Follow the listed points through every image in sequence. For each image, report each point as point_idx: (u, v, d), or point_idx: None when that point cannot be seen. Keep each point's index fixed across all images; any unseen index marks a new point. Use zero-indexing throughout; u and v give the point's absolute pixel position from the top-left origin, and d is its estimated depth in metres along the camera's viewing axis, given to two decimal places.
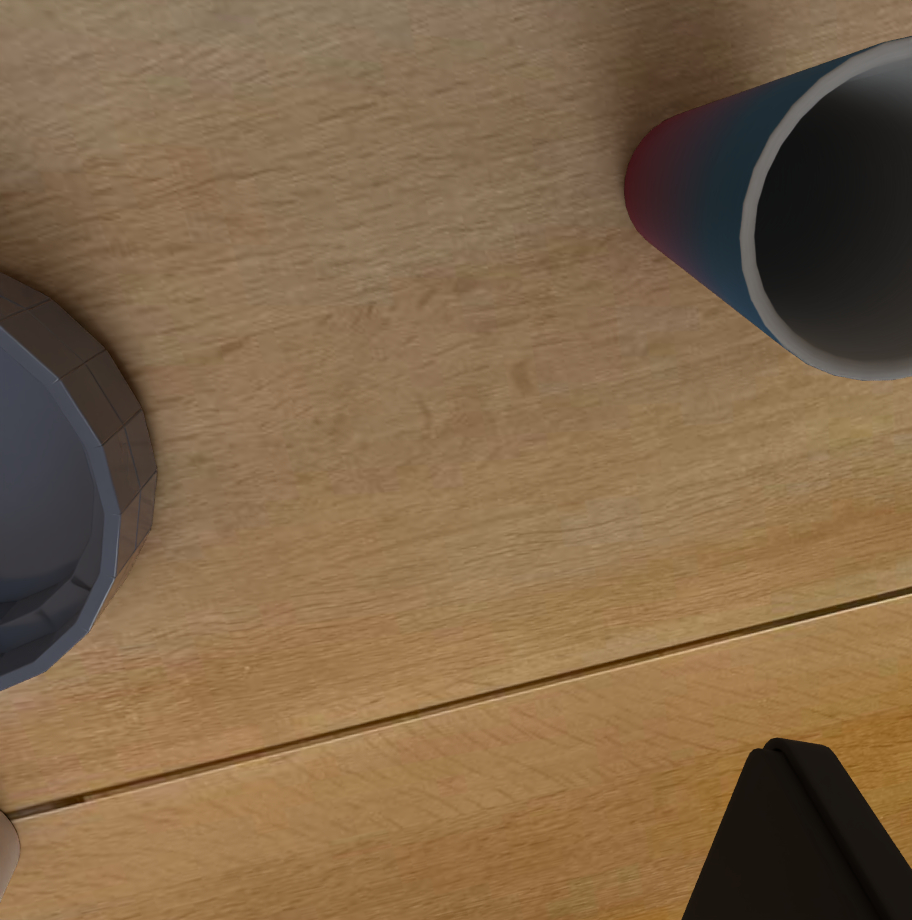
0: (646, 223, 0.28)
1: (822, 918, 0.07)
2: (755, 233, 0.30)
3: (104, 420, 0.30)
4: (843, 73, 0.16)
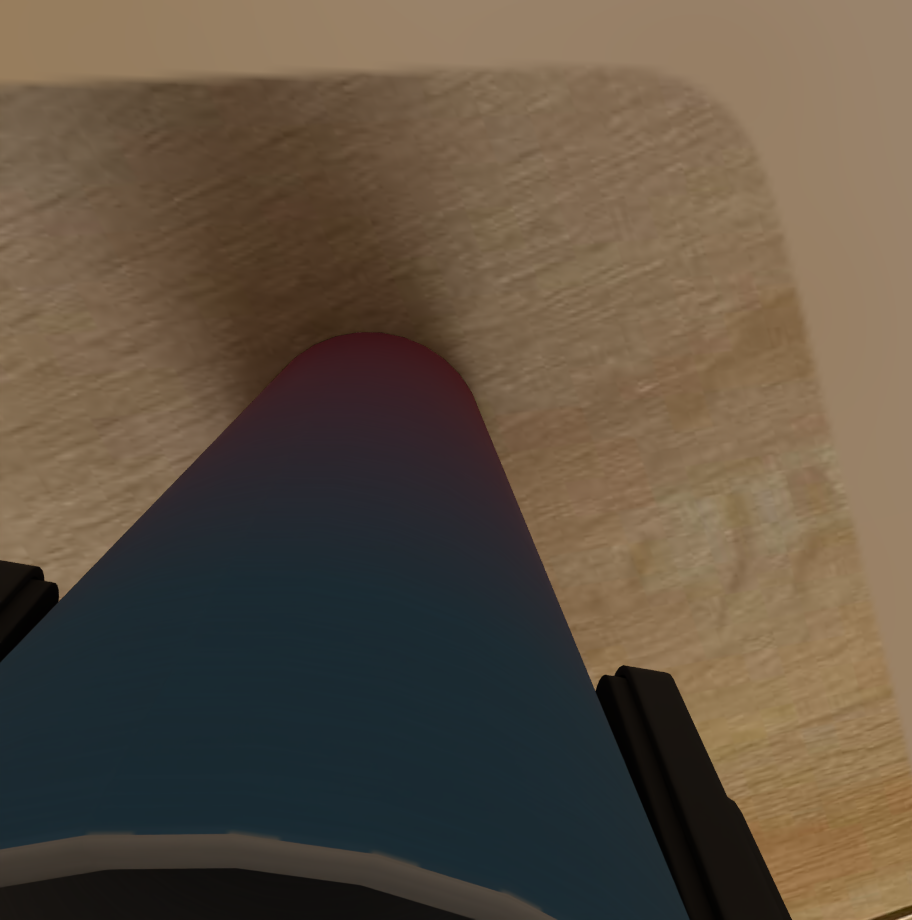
0: None
1: None
2: None
3: None
4: None
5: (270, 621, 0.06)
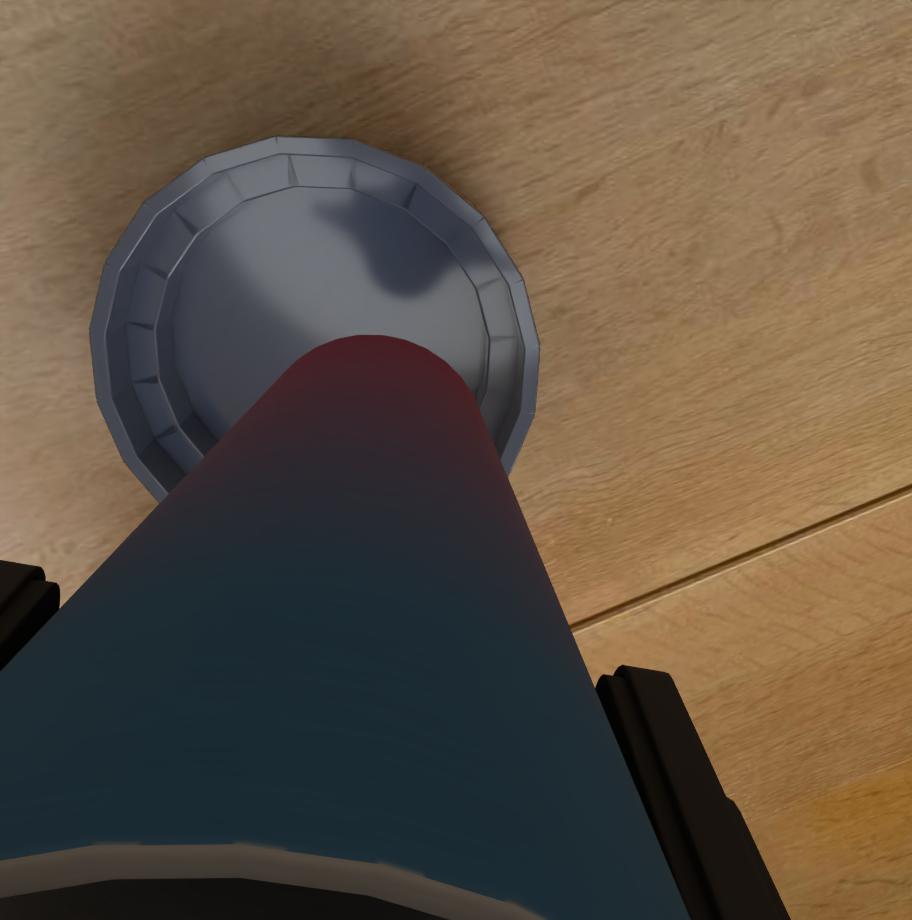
0: None
1: None
2: None
3: None
4: None
5: (274, 628, 0.06)
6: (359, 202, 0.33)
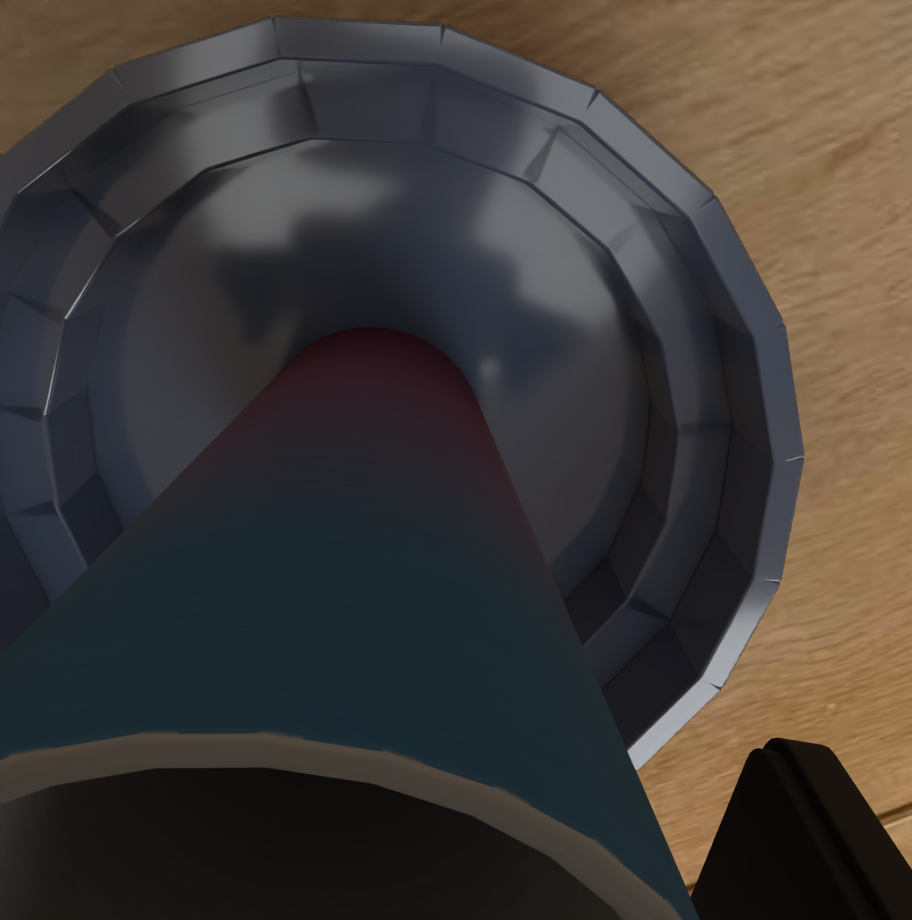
0: None
1: (822, 918, 0.07)
2: None
3: None
4: None
5: (288, 573, 0.06)
6: (431, 174, 0.18)
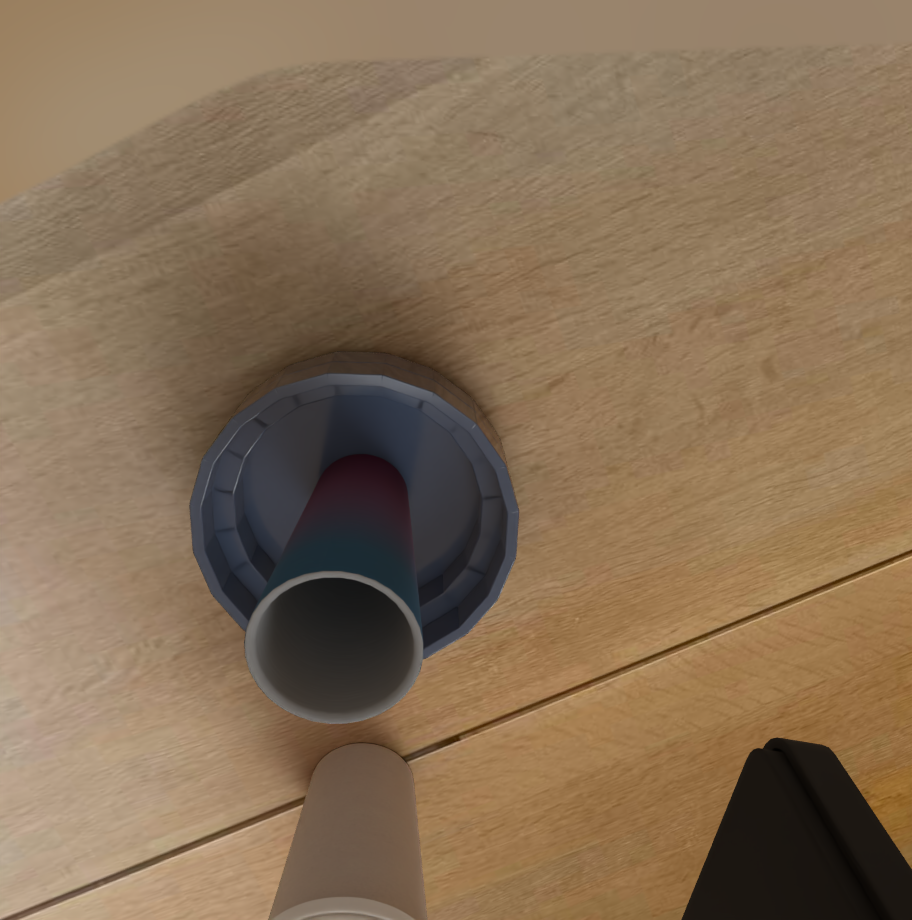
0: None
1: (822, 918, 0.07)
2: None
3: (498, 448, 0.42)
4: (272, 596, 0.32)
5: (340, 549, 0.33)
6: None
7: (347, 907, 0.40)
